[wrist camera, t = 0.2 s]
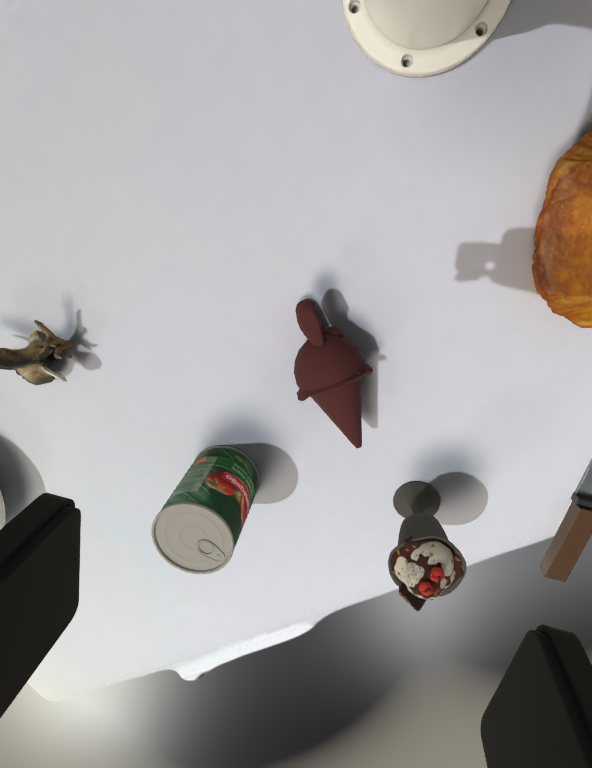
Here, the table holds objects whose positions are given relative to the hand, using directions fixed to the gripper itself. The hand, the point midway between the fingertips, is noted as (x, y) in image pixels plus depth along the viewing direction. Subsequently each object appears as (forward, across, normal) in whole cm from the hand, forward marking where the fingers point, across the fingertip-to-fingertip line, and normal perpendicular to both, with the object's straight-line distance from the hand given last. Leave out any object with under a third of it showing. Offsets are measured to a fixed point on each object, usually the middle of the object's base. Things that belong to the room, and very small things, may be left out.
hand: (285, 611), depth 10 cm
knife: (+37, -28, +12) cm, 48 cm away
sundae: (+37, -12, +20) cm, 44 cm away
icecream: (+37, 0, +7) cm, 38 cm away
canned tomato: (+37, +9, +23) cm, 44 cm away
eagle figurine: (+37, +31, +13) cm, 50 cm away
